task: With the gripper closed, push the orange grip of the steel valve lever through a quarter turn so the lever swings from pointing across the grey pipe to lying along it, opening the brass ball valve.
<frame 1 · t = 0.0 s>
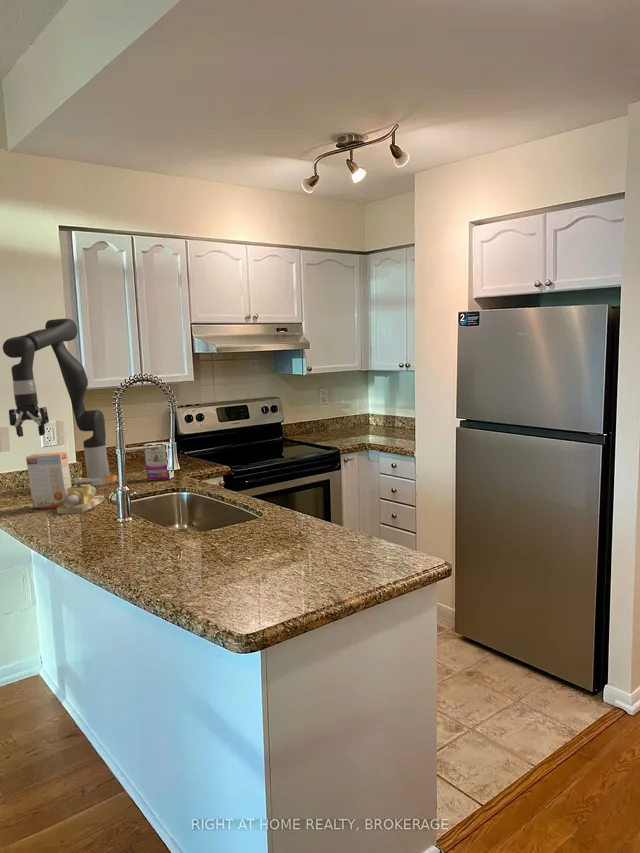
hand: (31, 436, 233), 29 cm above the counter, tool pointing down, fingers open, 8 cm apart
valve on pipe: (81, 506, 241), on the counter
valve lever: (94, 479, 239), point 10 cm above the counter, hinge at 0.0°
cracker box: (53, 506, 245), on the counter
candy bar box: (161, 479, 282), on the counter
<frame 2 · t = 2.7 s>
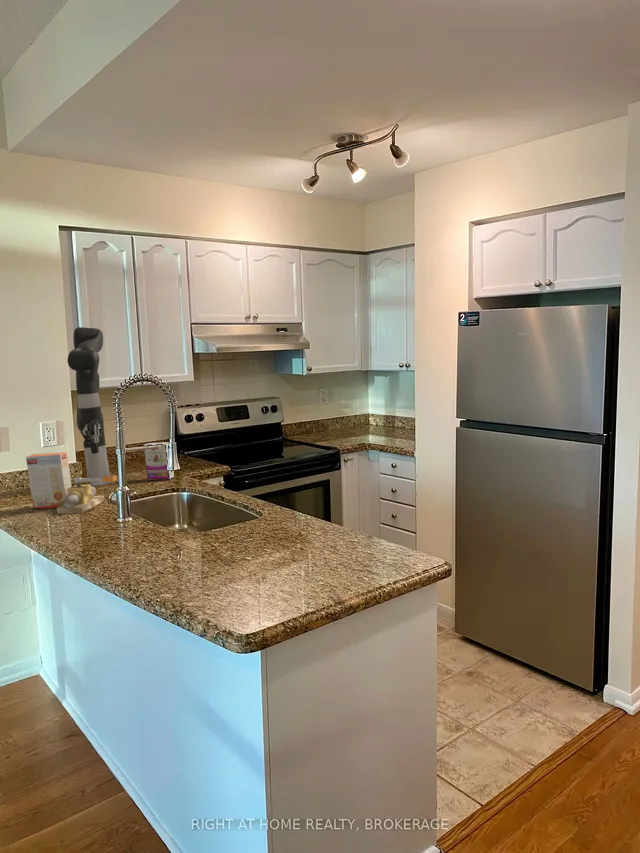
hand: (95, 453, 228), 22 cm above the counter, tool pointing down, fingers closed
nothing on the counter moved.
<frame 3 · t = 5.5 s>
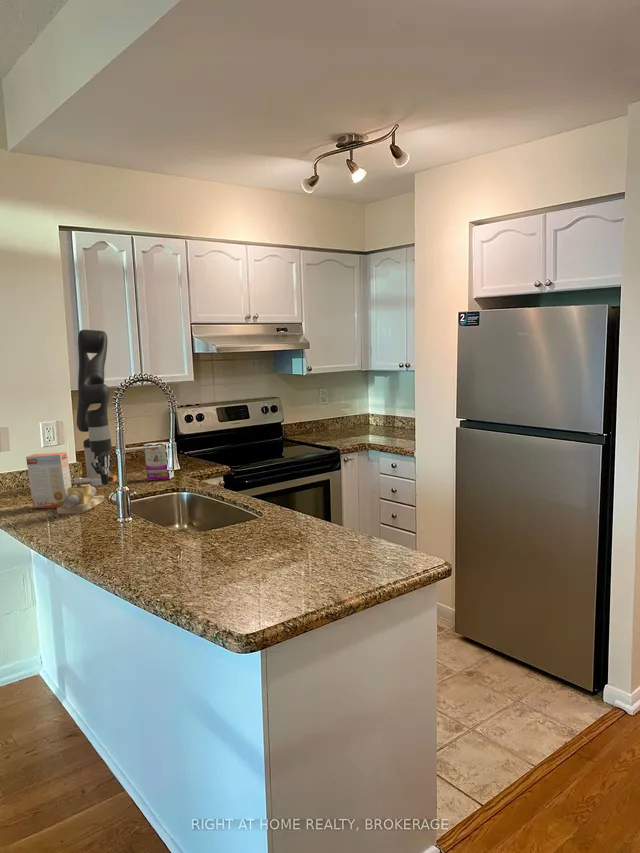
hand: (105, 483, 235), 9 cm above the counter, tool pointing down, fingers closed
valve lever: (94, 479, 239), point 10 cm above the counter, hinge at 0.0°, touching gripper
everything else where it was.
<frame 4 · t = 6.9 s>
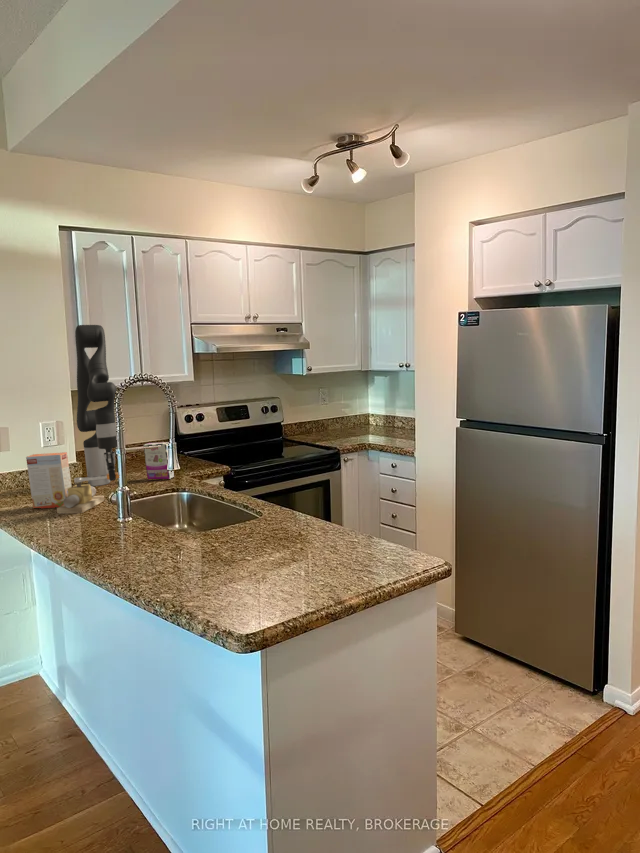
hand: (112, 480, 240), 10 cm above the counter, tool pointing down, fingers closed
valve lever: (96, 478, 241), point 10 cm above the counter, hinge at 22.2°, touching gripper
everything else where it was.
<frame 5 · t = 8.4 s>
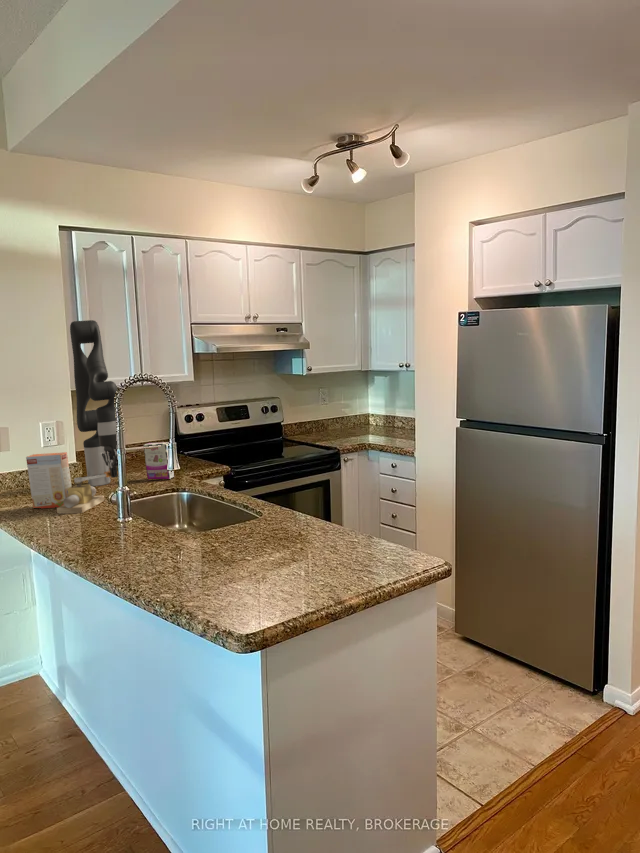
hand: (114, 476, 245), 10 cm above the counter, tool pointing down, fingers closed
valve lever: (95, 477, 244), point 10 cm above the counter, hinge at 47.2°, touching gripper
everything else where it was.
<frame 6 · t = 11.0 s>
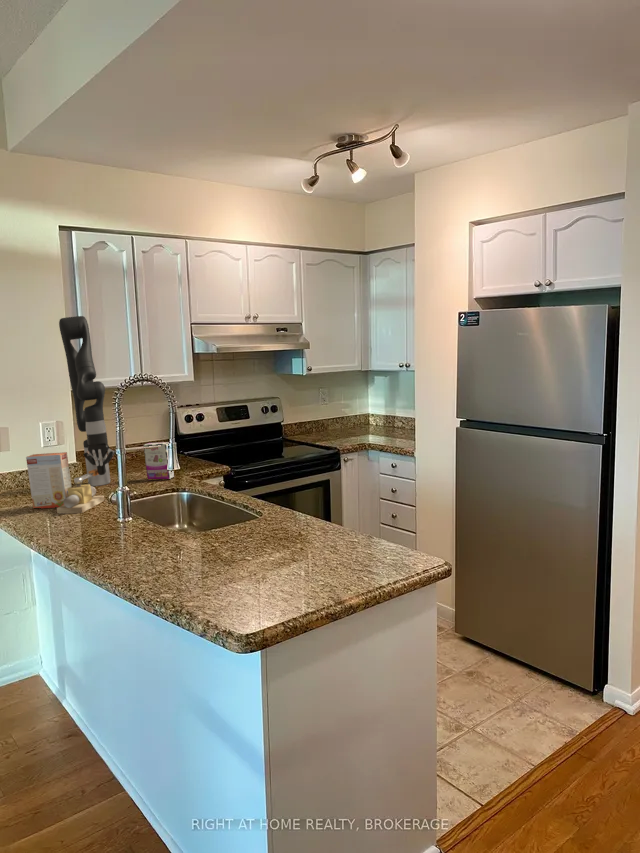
hand: (102, 474, 252), 10 cm above the counter, tool pointing down, fingers closed
valve lever: (87, 476, 246), point 10 cm above the counter, hinge at 90.2°, touching gripper
everything else where it was.
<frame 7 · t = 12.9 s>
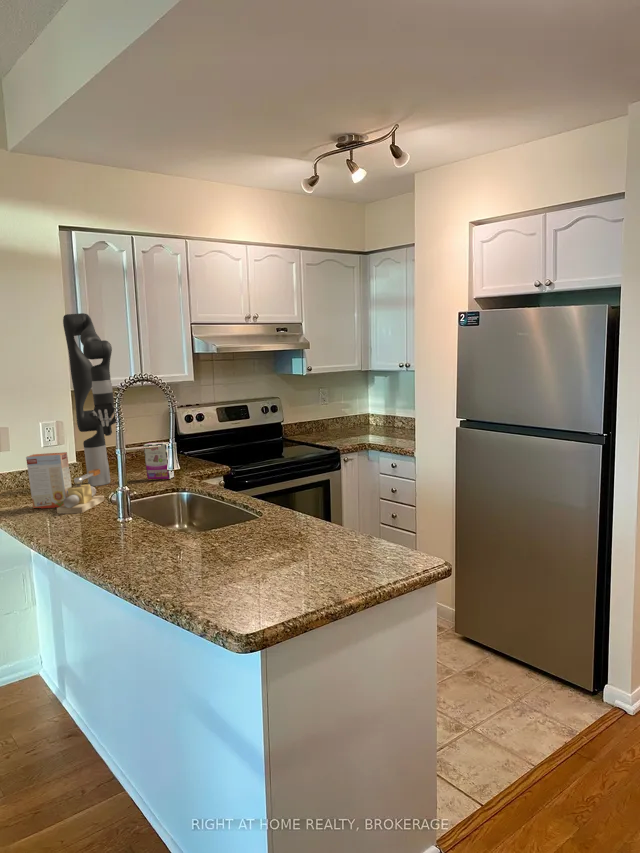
hand: (108, 435, 249), 25 cm above the counter, tool pointing down, fingers closed
valve lever: (87, 476, 246), point 10 cm above the counter, hinge at 90.2°
everything else where it was.
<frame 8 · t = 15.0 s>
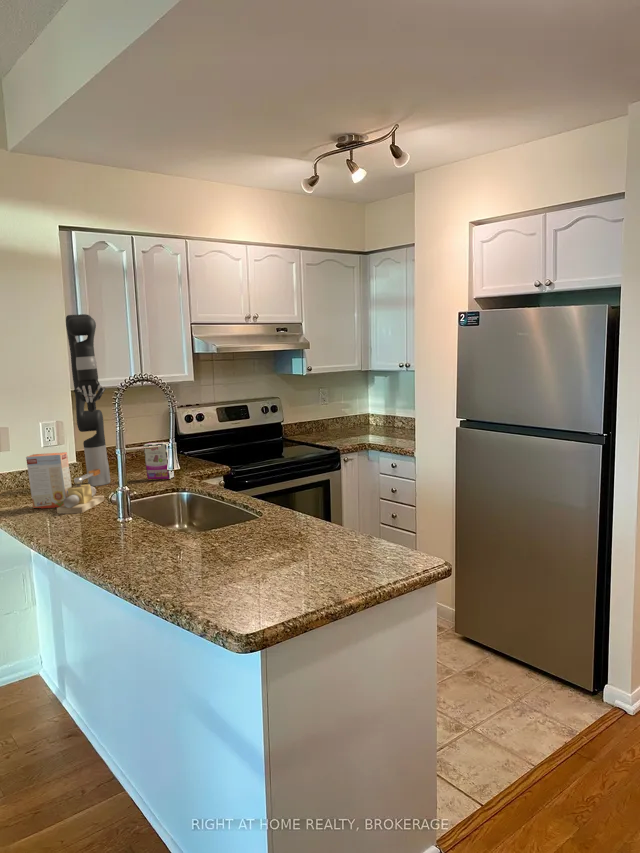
hand: (92, 411, 251), 35 cm above the counter, tool pointing down, fingers closed
nothing on the counter moved.
at the end: valve lever at +90° (first picture: +0°); cracker box moved 0.2 cm from its start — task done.
